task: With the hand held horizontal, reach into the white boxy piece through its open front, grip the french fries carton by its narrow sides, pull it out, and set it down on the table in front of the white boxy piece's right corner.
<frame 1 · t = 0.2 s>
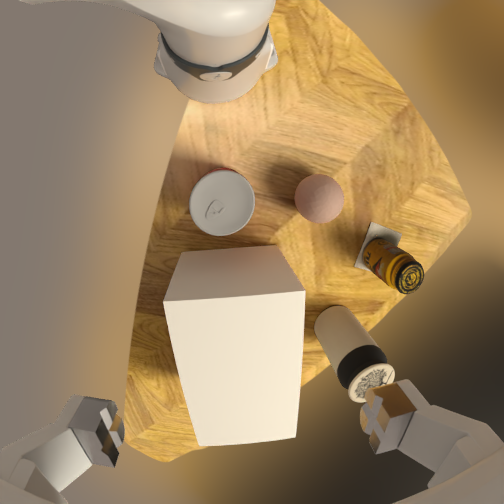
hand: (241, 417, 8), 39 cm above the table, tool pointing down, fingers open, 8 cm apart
canned food: (221, 192, 44), on the table
white boxy piece: (231, 320, 51), on the table
egg: (311, 195, 46), on the table
condiment: (377, 249, 50), on the table
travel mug: (333, 322, 54), on the table
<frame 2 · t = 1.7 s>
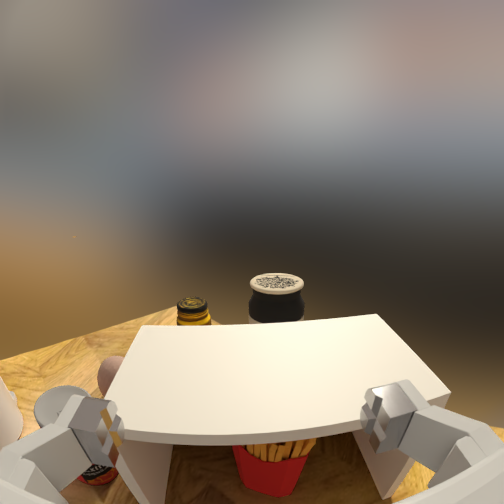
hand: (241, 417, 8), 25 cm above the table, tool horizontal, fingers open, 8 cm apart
french fries: (270, 482, 26), on the table
canned food: (95, 465, 26), on the table
white boxy piece: (269, 475, 27), on the table
egg: (126, 401, 39), on the table
condiment: (194, 359, 53), on the table
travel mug: (274, 382, 46), on the table
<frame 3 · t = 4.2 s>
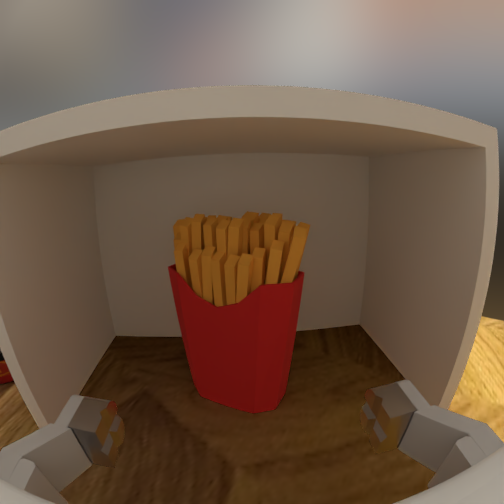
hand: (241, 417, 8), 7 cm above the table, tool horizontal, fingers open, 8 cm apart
french fries: (241, 392, 19), on the table
white boxy piece: (241, 381, 20), on the table
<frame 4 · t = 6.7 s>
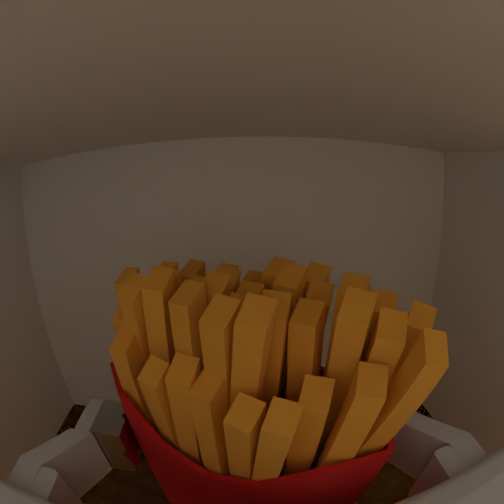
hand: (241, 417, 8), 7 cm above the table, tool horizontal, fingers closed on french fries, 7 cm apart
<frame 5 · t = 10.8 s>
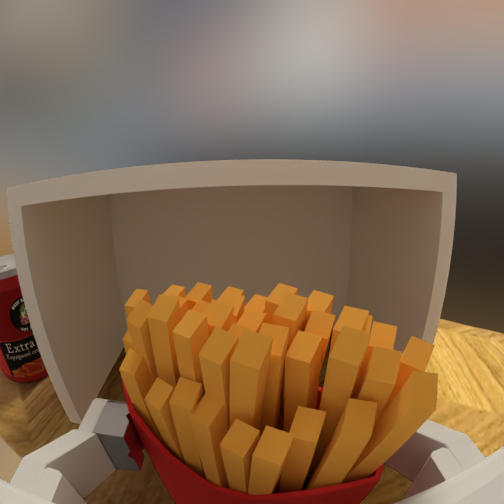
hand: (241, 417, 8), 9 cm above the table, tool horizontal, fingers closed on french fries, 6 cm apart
canned food: (31, 364, 23), on the table
white boxy piece: (238, 377, 24), on the table
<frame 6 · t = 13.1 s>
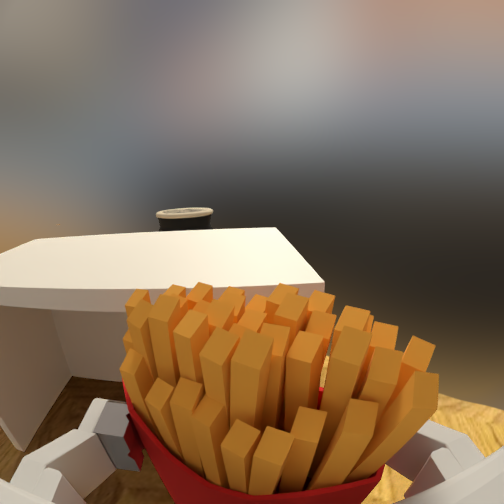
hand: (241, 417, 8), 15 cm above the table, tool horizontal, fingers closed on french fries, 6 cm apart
white boxy piece: (147, 426, 23), on the table
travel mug: (194, 335, 42), on the table
when the fingers open (8 cm above the table, at t = 14.9 s): french fries stays where it is, on the table.
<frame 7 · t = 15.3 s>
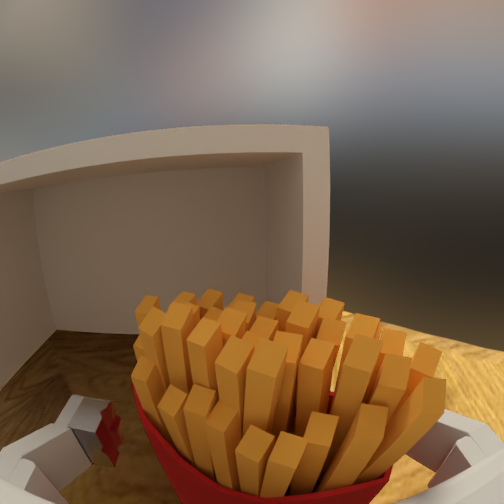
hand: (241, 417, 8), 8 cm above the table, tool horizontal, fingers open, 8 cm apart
white boxy piece: (131, 374, 22), on the table
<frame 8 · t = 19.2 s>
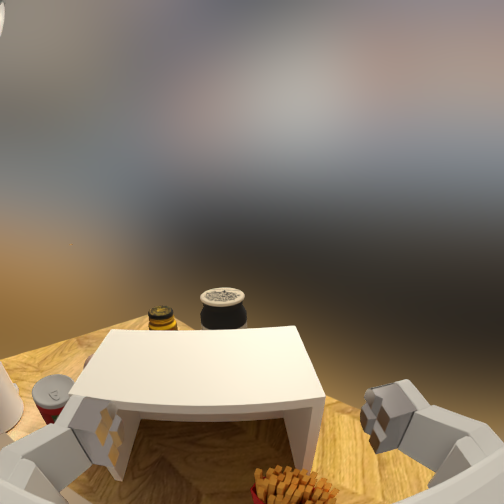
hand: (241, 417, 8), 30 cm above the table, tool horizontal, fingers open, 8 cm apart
canned food: (78, 439, 34), on the table
white boxy piece: (209, 453, 35), on the table
condiment: (165, 358, 61), on the table
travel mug: (228, 379, 54), on the table
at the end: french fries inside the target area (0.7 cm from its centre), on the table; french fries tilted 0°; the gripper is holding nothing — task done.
